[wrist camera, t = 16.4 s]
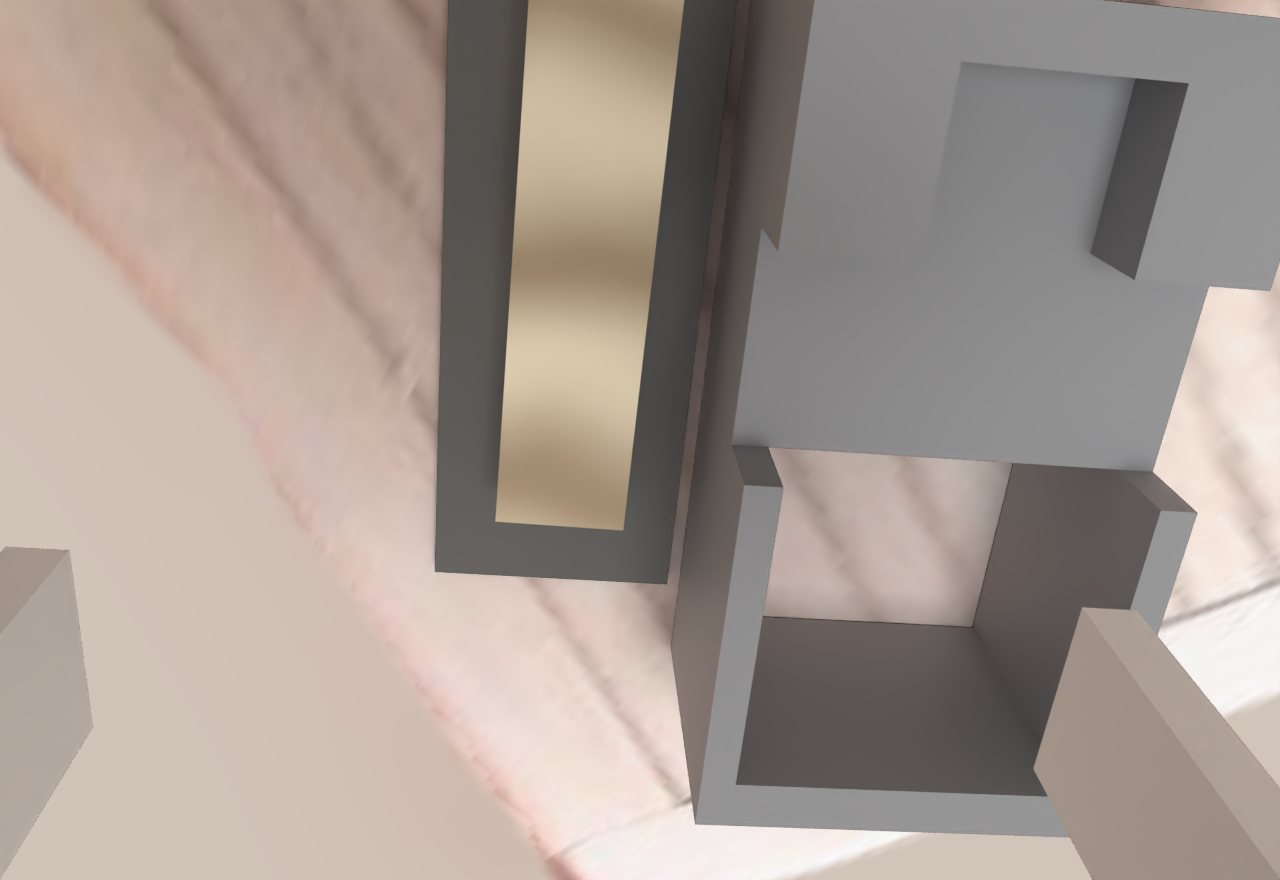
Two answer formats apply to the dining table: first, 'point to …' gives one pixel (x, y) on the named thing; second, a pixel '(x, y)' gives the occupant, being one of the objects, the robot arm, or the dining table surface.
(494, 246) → the rubber mat
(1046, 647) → the pocket block
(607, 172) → the birch bar
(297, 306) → the dining table surface
